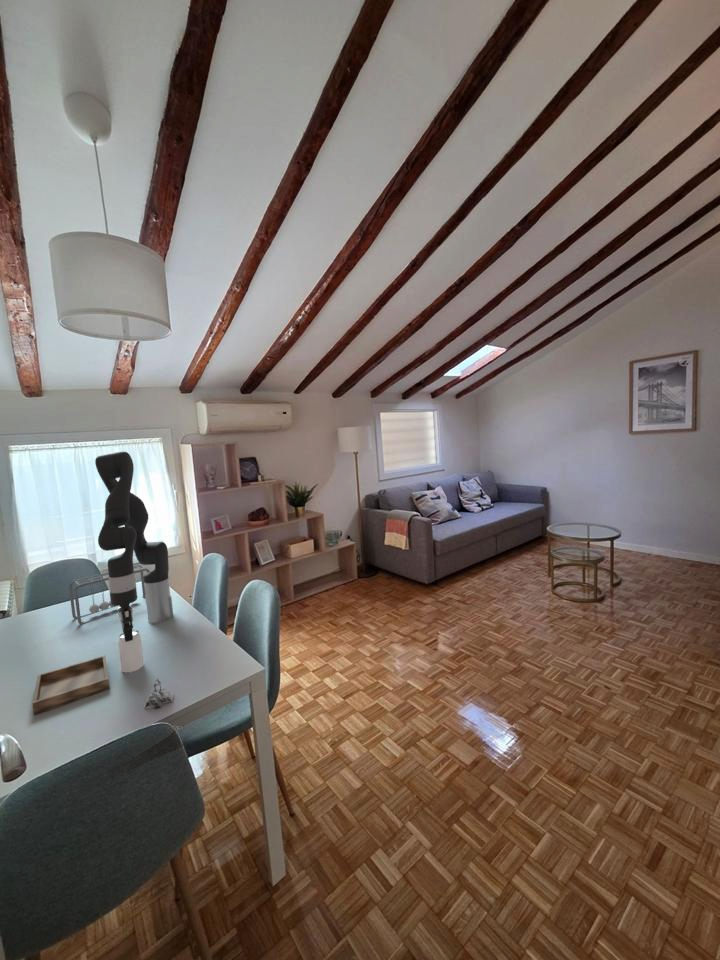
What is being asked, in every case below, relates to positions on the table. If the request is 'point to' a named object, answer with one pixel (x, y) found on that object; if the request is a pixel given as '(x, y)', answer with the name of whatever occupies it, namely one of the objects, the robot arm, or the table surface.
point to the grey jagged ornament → (159, 697)
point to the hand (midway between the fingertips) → (127, 636)
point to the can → (130, 652)
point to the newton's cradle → (94, 607)
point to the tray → (70, 684)
